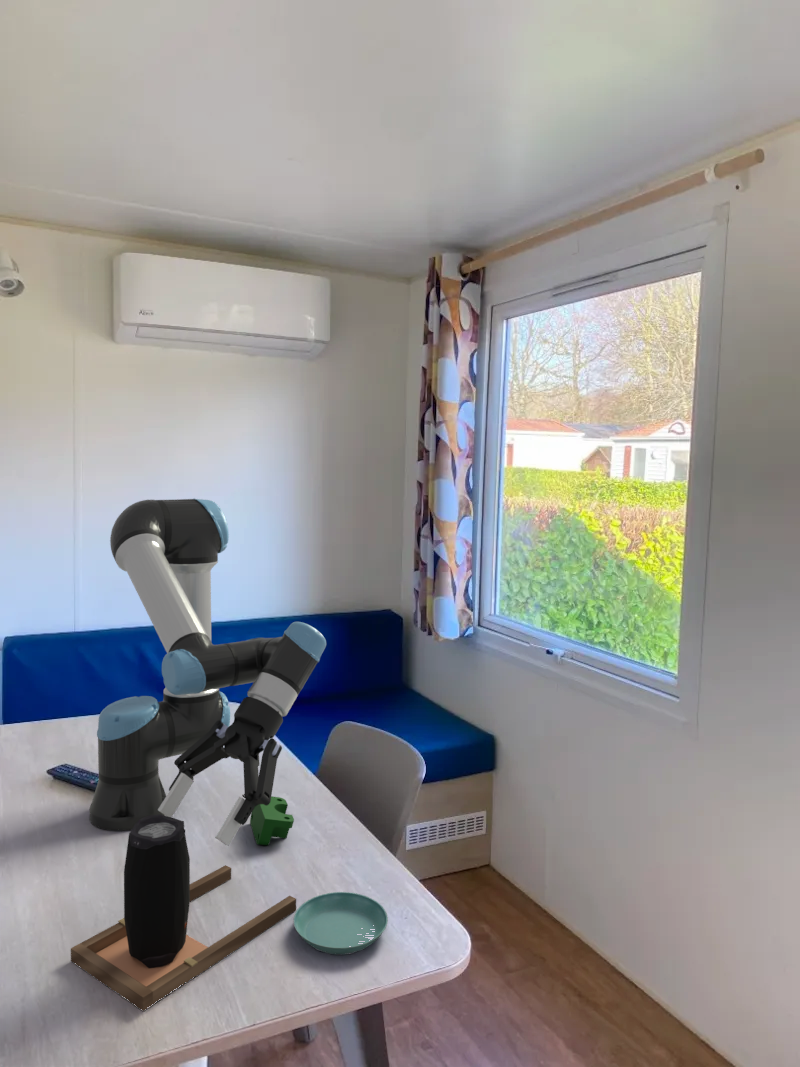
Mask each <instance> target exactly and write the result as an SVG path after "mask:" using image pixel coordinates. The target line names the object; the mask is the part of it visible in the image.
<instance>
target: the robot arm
mask: <svg viewBox="0 0 800 1067" xmlns="http://www.w3.org/2000/svg"><path fill="white" fill-rule="evenodd" d="M229 535H230V534H229V526H228V522H227V518H226V516H225V514H224V512H223V510H222V509H221V507H220V505H218V504H217V503H216V502H215V501H212V500H210V499H203V498H201V499H200V498H199V499H198V498H195V497H194V498H183V499H182V498H181V499H179V498H178V499H142V500H139V501H137V502H134V503H132V504H130V505H128V506H127V507H126V508H125V509H124V510H123V511H122V512H121V513H120V514H118V517H116V520H115V522H114V524H113V526H112V528H111V532H110V540H109V542H110V543H109V545H110V551H111V554H112V557H113V559H114V562H115V563H116V565H117V567H118V568H119V569H121V570H122V571H124V572H126V573H127V574H128V576H129V579H130V580H131V583H132V585H133V587H134V589H135V591H136V594H137V595H138V597H139V599H140V601H141V603H142V605H143V607H144V609H145V611H146V613H147V615H148V617H149V620H150V621H151V623H152V624H151V625H152V626H153V627H154V629H155V632H156V634H157V636H158V638H159V641H160V642H161V643H162V646H163V648H164V651H165V652H166V654H165V655H164V657H163V659H162V662H161V675H162V677H163V678H162V679H163V684H164V686H165V688H164V689H163V693H162V694H163V699H162V701H158V699H156V697H154V696H151V695H150V696H149V695H140V696H136V695H135V696H130V697H126V698H121V699H119V700H116V701H114V702H112V703H110V704H107V706H105V708H103V709H102V711H101V712H100V714H99V715H98V725H97V730H96V731H97V732H96V737H97V754H98V755H97V756H98V758H97V760H98V761H97V762H98V769H97V770H98V781H97V785H96V786H95V791H94V794H93V797H92V802H91V803H90V805H89V806H90V807H89V822H90V821H91V822H90V823H91V824H92V825H93V826H94V827H96V828H99V829H101V830H107V831H115V832H116V831H118V832H119V831H121V832H122V831H129V830H130V831H131V830H132V828H133V827H134V825H135V824H136V822H137V821H138V820H139V819H141V818H144V817H146V816H150V815H159V814H162V815H164V816H168V817H172V818H173V815H174V814H175V813H176V811H177V809H178V807H179V806H180V805H181V803H182V801H183V799H184V798H185V797H186V795H187V793H188V791H189V790H190V789H191V788H192V785H193V784H194V782H195V781H194V777H195V776H197V775H198V774H199V773H201V772H203V771H204V770H206V769H208V768H210V767H212V766H213V765H215V764H217V763H218V762H219V761H221V760H222V759H229V758H231V759H233V760H238V761H240V762H242V764H243V765H242V766H243V786H244V787H243V789H244V793H243V794H242V797H241V796H238V797H237V799H236V801H235V803H234V805H233V807H231V808H232V809H231V810H230V812H229V813H228V815H227V817H226V818H225V820H224V821H223V824H222V826H221V827H220V829H219V831H218V832H217V834H216V836H215V839H217V840H218V841H220V842H221V843H222V844H223V845H225V846H227V847H230V845H231V844H232V842H233V840H234V838H235V837H236V834H237V833H238V831H239V829H240V827H241V826H244V825H245V824H246V823H247V821H248V820H249V819H250V817H251V813H252V811H253V809H254V808H255V806H257V805H259V804H264V805H266V806H267V805H269V803H270V801H271V796H273V788H274V781H275V774H276V768H277V762H278V758H279V756H280V754H281V752H282V750H283V747H282V745H281V744H280V743H279V742H278V741H276V739H275V735H276V734H277V732H278V731H279V729H280V727H281V726H282V724H283V722H284V719H283V717H287V715H288V713H289V712H290V710H291V708H292V706H293V705H294V703H295V701H296V700H297V697H298V696H299V694H300V692H301V691H302V690H303V689H304V686H305V685H306V682H307V681H308V679H309V678H310V677H311V676H312V673H313V672H314V670H315V669H316V666H317V665H318V663H320V660H321V657H322V654H323V653H324V651H325V649H326V647H327V640H326V638H325V637H324V635H323V634H322V633H321V632H320V631H319V630H318V629H317V628H315V627H313V626H312V625H310V624H308V623H305V622H303V621H302V622H301V621H294V622H292V623H290V625H289V626H288V627H287V628H286V630H284V632H283V635H282V636H278V637H255V638H250V639H246V640H241V641H236V642H228V643H220V644H213V643H212V591H211V590H212V584H211V583H212V581H211V579H212V578H211V575H212V574H211V573H212V572H211V571H212V569H213V568H214V567H215V566H216V565H217V564H218V562H219V560H218V559H219V558H218V556H219V554H221V553H223V552H224V551H225V550H226V548H227V547H228V545H227V544H228V543H229V537H230V536H229ZM251 683H252V685H251V686H250V687H249V689H248V691H247V692H246V693H247V697H244V698H243V699H242V701H241V702H240V704H239V705H238V707H237V708H236V710H235V712H234V713H233V714H234V715H233V719H234V720H233V722H232V724H230V723H231V707H230V706H229V700H228V697H227V696H226V694H225V693H223V692H222V691H220V689H223V688H226V687H227V688H228V687H235V686H239V685H245V684H251ZM262 752H263V753H262ZM260 753H262V755H261V761H260ZM178 755H179V756H178ZM176 756H178V757H177V758H176V759H175V760H174V762H173V763H174V764H173V765H175V766H176V767H177V768H178V773H177V775H176V777H175V778H174V780H173V781H172V782H171V784H170V786H169V788H168V791H169V792H168V793H167V794H166V792H165V789H164V786H163V782H162V780H161V777H160V775H159V761H160V760H162V759H166V758H171V757H176ZM259 766H260V767H259Z"/></svg>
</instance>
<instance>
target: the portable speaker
mask: <svg viewBox="0 0 800 1067" xmlns="http://www.w3.org/2000/svg"><path fill="white" fill-rule="evenodd" d="M127 839H128V840H127V846H126V854H125V861H124V869H123V918H124V920H125V927H126V934H127V940H128V947H129V953H130V955H131V956H132V957H134V958H136V959H138V960H139V961H141V962H142V963H143V964H144V965H146V966H147V967H148V968H155V967H162V966H164V965H166V964H169V963H171V962H173V960H174V958H175V956H176V955H177V953H178V952H179V951H180V950H181V949H182V948H183V946H184V944H185V941H186V935H187V930H188V921H189V920H188V919H189V912H190V911H189V910H190V903H191V902H190V884H191V882H190V881H191V880H190V879H191V877H190V873H191V872H190V870H191V869H190V860H191V858H190V852H189V847H188V843H187V842H188V841H187V837H186V829H185V820H180V819H179V818H178V819H177V818H175V817H173V816H172V817H168V816H164V815H162V814H159V815H150V816H146V817H144V818H141V819H139V820H138V821H137V822H136V824H135V825H134V827H133V828H132V830H130V831H129V833H128V838H127Z"/></svg>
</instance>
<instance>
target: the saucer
mask: <svg viewBox="0 0 800 1067" xmlns="http://www.w3.org/2000/svg"><path fill="white" fill-rule="evenodd" d="M388 918H389V917H388V914H387V911H386V909H385V907H384V906H383V905H382V904H381V903H379V902H378V901H377V900H375V899H373V898H372V897H369V896H367V895H365V894H364V895H363V894H361V893H356V892H346V891H335V892H333V891H332V892H327V893H322V894H319V895H316V896H314V897H312V898H310V899H308V900H307V901H305V902H304V903H302V904H301V905H299V907H298V908H296V911H295V913H294V915H293V926H294V929H295V931H296V932H297V933H298V935H299V936H300V938H301V939H302V940H303V941H304V942H306V944H308V945H309V946H311V947H312V948H313V949H316V950H317V951H320V952H323V953H326V954H329V955H337V954H342V955H350V954H349V953H351V954H355V953H357V951H358V952H360V951H362V950H364V949H366V948H368V947H369V946H371V945H373V943H375V942H376V941H377V940H378V939H379V938H380V936H381V935H382V934H383V933H384V932H385V930H386V928H387V926H388V921H389V920H388ZM373 925H374V926H373ZM361 928H363V929H361ZM370 929H375V930H370ZM372 931H375V932H372ZM366 933H369V934H366ZM357 934H362V935H357ZM365 935H374V936H365ZM363 936H364V937H363ZM365 937H374V938H373V939H372V940H370V939H368V938H365ZM369 940H370V941H369ZM359 941H365V942H359ZM358 943H363V944H358ZM349 946H351V947H349ZM354 952H355V953H354Z"/></svg>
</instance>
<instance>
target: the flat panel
mask: <svg viewBox="0 0 800 1067" xmlns="http://www.w3.org/2000/svg"><path fill="white" fill-rule="evenodd" d="M208 947H209V946H207V945H205V944H204V943H202V942H200V941H198V940H196V939H195V938H193V937H192V936H190V935H187V934H186V941H185V944H184V946H183V948H182V949H181V950H180V951H179V952H178V953H177V955H176V956H175V958H174V960H173V962H171V963H169V964H166V965H164V966H162V967H155V968H148V967H147V966H146V965H144V964H143V963H142V962H141V961H139V960H138V959H136V958H134V957H132V956H131V955H130V953H129V947H128V940H127V936H126V937H124V938H122V939H120V940H119V941H117V942H115V943H113V944H111V945H110V946H108V947H106V948H104V949H103V950H101V951H99V952H97V953H96V954H97V955H99V956H100V957H102V958H103V959H105V960H106V961H108V962H109V963H111V964H112V965H114V966H115V967H117V968H118V969H120V970H121V971H123V972H124V973H126V974H127V975H129V976H130V977H132V978H133V979H135V980H136V981H138V982H139V983H141V984H142V985H144V986H145V987H146V986H148V985H150V984H151V983H153V982H154V981H156V980H157V979H159V978H161V977H162V976H164V975H165V974H167V973H168V972H170V971H172V970H173V969H175V968H176V967H178V966H179V965H181V964H183V963H184V960H185V959H187V958H189V957H190V958H192V957H194V956H195V955H197V954H198V953H200V952H201V951H203V950H205V949H206V948H208Z"/></svg>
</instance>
